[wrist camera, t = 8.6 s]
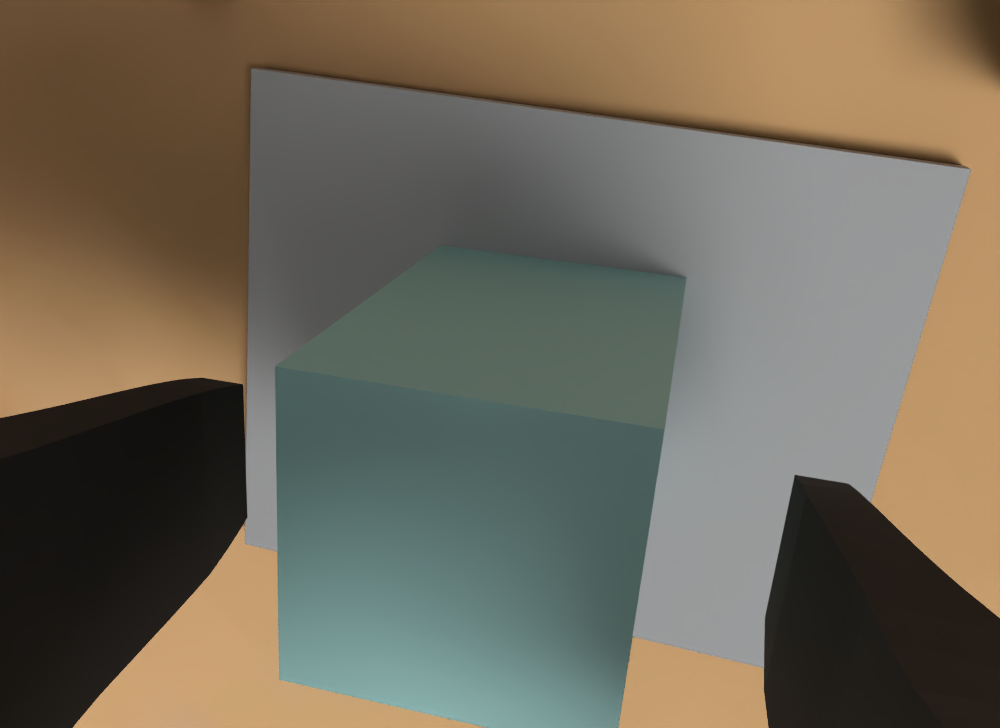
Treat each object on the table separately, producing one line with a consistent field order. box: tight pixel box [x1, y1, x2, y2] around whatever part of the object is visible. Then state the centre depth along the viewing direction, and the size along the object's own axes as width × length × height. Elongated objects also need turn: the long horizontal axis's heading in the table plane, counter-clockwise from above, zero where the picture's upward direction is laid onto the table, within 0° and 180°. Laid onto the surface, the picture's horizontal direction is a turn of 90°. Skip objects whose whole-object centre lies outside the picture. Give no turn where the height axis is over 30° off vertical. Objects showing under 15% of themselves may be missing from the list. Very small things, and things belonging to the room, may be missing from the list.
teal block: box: [275, 245, 687, 728], centre depth 12 cm, size 4×4×6 cm
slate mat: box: [245, 68, 971, 668], centre depth 15 cm, size 11×9×1 cm
